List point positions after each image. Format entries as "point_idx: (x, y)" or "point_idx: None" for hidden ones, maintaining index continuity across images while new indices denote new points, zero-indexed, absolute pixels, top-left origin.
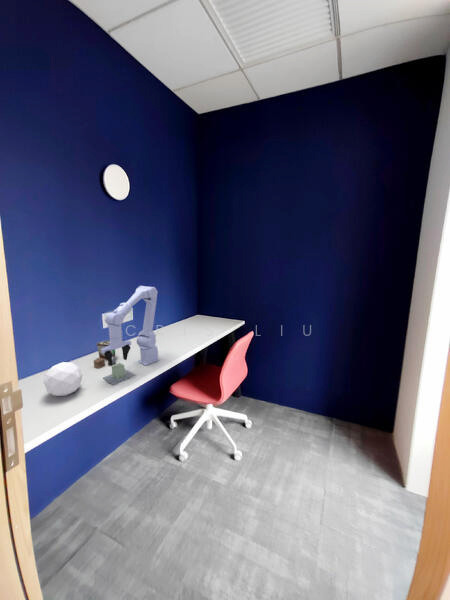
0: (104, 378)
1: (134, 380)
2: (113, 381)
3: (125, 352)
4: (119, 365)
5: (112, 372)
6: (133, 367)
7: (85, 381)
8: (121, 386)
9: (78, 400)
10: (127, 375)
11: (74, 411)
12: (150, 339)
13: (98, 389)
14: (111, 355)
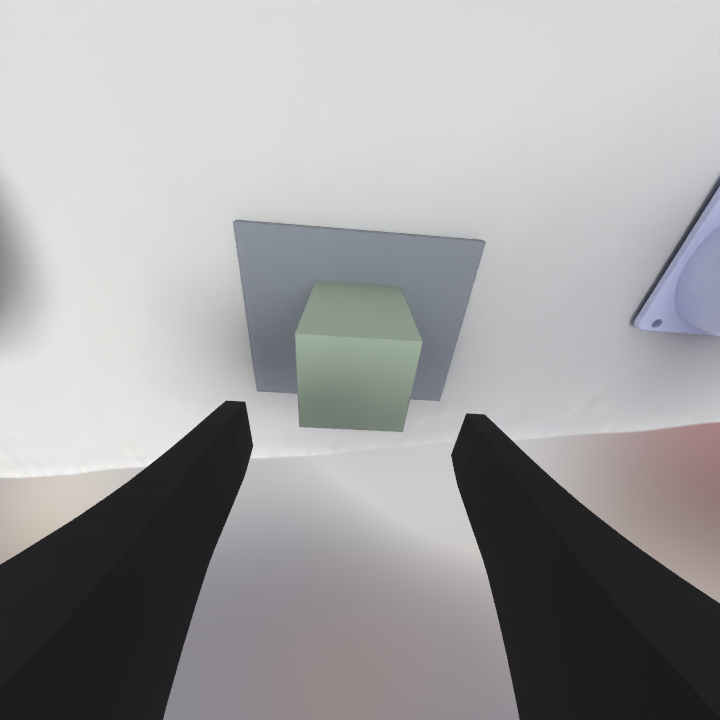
0: (239, 255)
1: (392, 432)
2: (280, 362)
3: (506, 607)
4: (364, 402)
5: (310, 299)
6: (562, 262)
7: (46, 103)
8: (296, 431)
9: (15, 380)
10: None
11: (8, 448)
12: None
13: (158, 360)
14: (149, 703)
